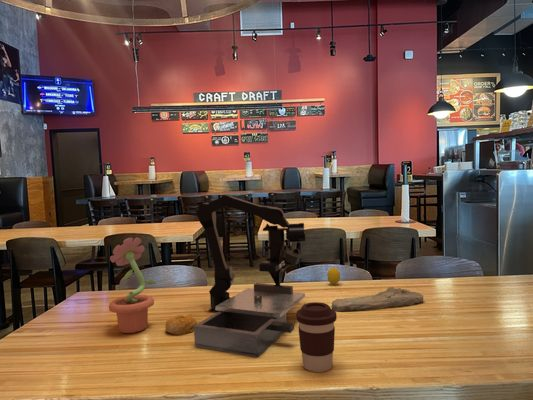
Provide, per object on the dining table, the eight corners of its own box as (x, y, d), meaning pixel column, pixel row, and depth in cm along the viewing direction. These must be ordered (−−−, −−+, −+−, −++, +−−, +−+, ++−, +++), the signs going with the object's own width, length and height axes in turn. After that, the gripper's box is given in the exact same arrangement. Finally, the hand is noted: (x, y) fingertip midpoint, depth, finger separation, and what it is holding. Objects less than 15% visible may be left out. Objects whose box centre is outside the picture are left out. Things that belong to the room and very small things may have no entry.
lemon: (340, 286, 167) (339, 268, 167) (327, 286, 168) (326, 268, 168) (340, 283, 173) (340, 265, 172) (327, 283, 174) (327, 265, 173)
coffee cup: (294, 358, 101) (292, 301, 101) (332, 355, 102) (330, 298, 102) (301, 377, 92) (299, 314, 91) (342, 374, 92) (340, 311, 92)
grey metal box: (194, 346, 111) (193, 325, 111) (230, 322, 129) (229, 304, 129) (278, 361, 100) (278, 338, 100) (305, 332, 118) (304, 313, 118)
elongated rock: (327, 309, 143) (337, 320, 134) (326, 295, 143) (336, 305, 133) (414, 295, 150) (429, 304, 140) (413, 282, 149) (429, 290, 139)
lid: (215, 310, 123) (215, 298, 123) (248, 291, 143) (247, 281, 143) (279, 318, 114) (279, 305, 114) (305, 296, 134) (304, 286, 134)
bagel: (203, 324, 129) (203, 310, 129) (186, 337, 118) (186, 322, 118) (177, 322, 132) (176, 308, 132) (158, 335, 122) (157, 319, 121)
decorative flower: (146, 317, 137) (141, 232, 136) (166, 327, 127) (161, 235, 126) (103, 330, 127) (97, 238, 126) (121, 341, 117) (116, 241, 116)
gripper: (288, 248, 128) (289, 295, 129) (306, 239, 145) (307, 281, 146) (257, 246, 133) (259, 292, 133) (278, 238, 150) (280, 279, 150)
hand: (278, 286), depth 141 cm, fingers closed
